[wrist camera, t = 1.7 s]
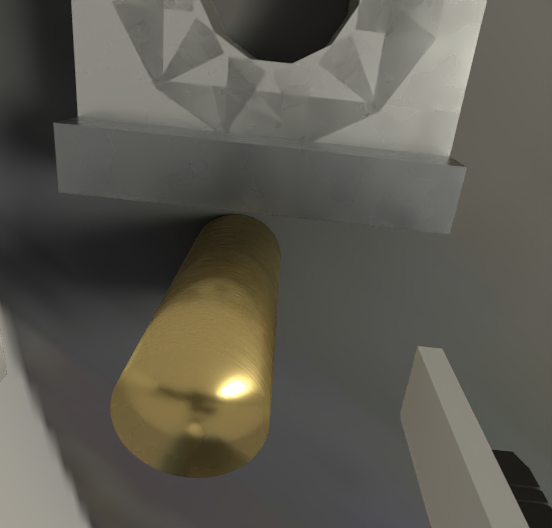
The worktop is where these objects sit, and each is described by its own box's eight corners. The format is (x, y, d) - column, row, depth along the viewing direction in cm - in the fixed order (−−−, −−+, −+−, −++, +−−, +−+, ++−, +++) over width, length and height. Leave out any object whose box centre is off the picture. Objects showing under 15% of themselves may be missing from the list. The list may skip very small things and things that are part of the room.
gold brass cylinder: (276, 299, 25) (262, 485, 14) (192, 290, 25) (112, 469, 14) (285, 219, 24) (277, 359, 12) (195, 209, 24) (107, 341, 12)
